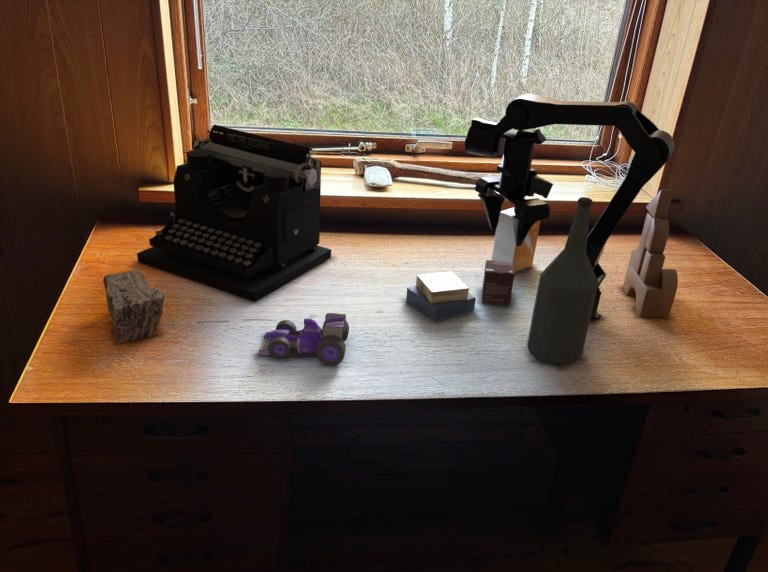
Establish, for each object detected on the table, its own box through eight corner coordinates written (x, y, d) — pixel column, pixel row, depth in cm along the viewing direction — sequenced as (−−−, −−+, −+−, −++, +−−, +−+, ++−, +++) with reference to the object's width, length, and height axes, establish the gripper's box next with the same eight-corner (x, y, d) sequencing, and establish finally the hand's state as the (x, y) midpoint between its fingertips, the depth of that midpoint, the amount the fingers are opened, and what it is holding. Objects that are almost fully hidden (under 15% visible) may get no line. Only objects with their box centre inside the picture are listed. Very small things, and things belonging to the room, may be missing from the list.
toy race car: (267, 333, 136) (266, 301, 133) (348, 339, 137) (350, 308, 134) (257, 360, 128) (256, 327, 125) (343, 366, 129) (345, 334, 125)
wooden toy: (670, 318, 155) (704, 204, 142) (639, 317, 154) (670, 201, 141) (648, 286, 168) (677, 178, 155) (620, 284, 168) (646, 176, 154)
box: (509, 293, 159) (514, 262, 155) (510, 306, 154) (515, 274, 150) (481, 290, 159) (485, 259, 155) (480, 303, 154) (485, 270, 150)
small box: (510, 274, 167) (519, 220, 160) (489, 265, 171) (497, 211, 164) (533, 266, 172) (542, 213, 166) (512, 257, 176) (520, 204, 169)
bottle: (569, 373, 133) (605, 214, 117) (519, 356, 137) (547, 199, 121) (587, 349, 141) (623, 197, 125) (539, 334, 144) (568, 184, 129)
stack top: (467, 299, 148) (469, 288, 147) (430, 303, 145) (432, 292, 144) (451, 282, 154) (452, 271, 153) (415, 285, 152) (416, 274, 150)
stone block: (171, 337, 132) (167, 299, 129) (118, 346, 128) (112, 307, 124) (154, 303, 143) (150, 266, 139) (104, 310, 139) (99, 273, 135)
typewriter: (137, 261, 158) (122, 144, 144) (223, 225, 178) (216, 119, 165) (254, 302, 146) (250, 178, 133) (331, 257, 167) (333, 147, 154)
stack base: (474, 310, 151) (476, 297, 149) (435, 321, 145) (436, 308, 144) (444, 291, 157) (445, 278, 156) (405, 300, 152) (406, 287, 151)
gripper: (579, 174, 141) (564, 250, 149) (523, 146, 155) (512, 217, 163) (531, 178, 136) (519, 256, 144) (478, 150, 150) (469, 223, 158)
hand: (505, 237), depth 153 cm, fingers open, 9 cm apart
